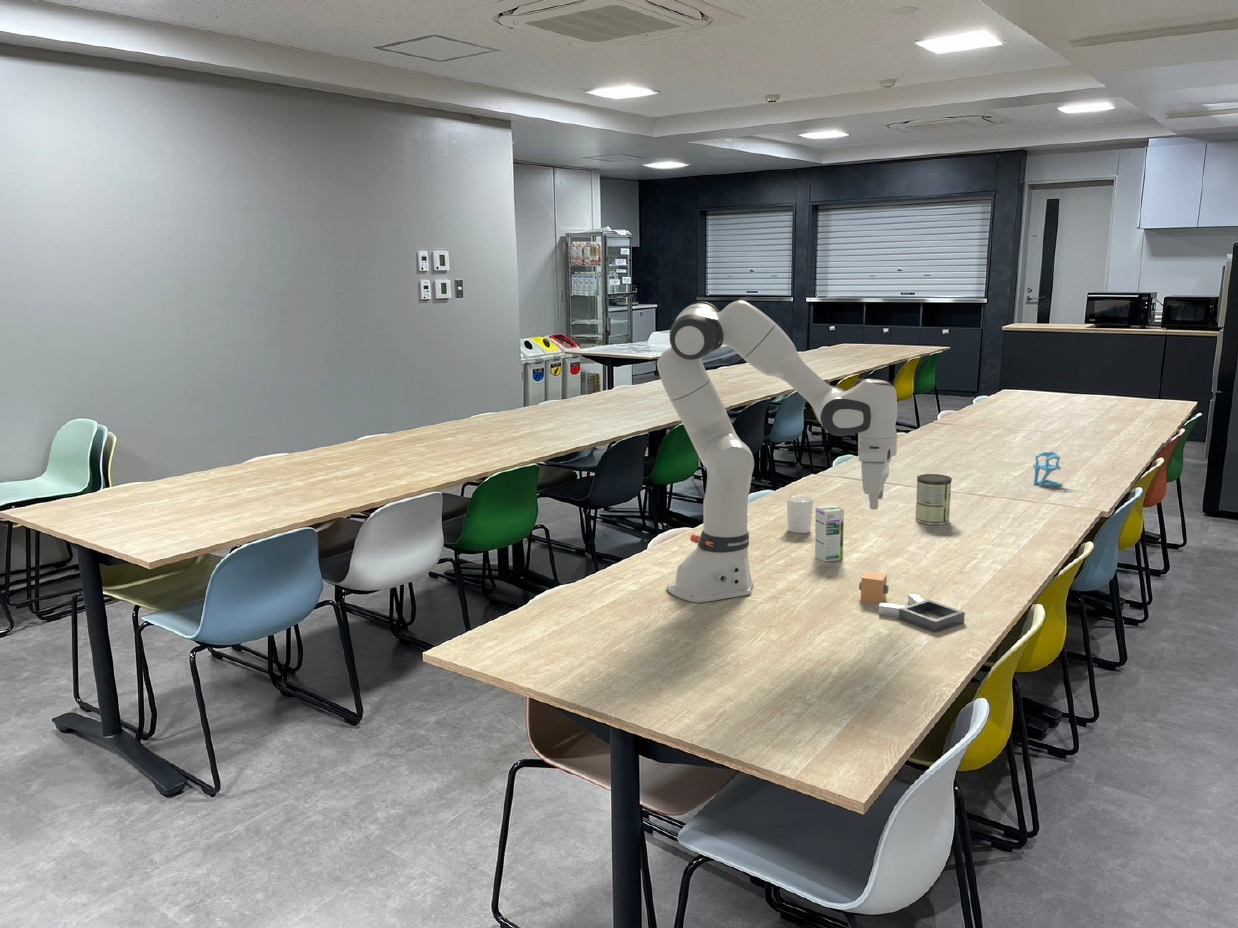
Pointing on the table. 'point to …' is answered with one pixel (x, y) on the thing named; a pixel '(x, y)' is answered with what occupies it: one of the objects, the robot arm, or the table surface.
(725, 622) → the table surface
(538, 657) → the table surface
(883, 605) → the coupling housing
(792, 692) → the table surface
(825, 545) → the syrup box
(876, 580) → the block
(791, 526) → the white cup
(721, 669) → the table surface
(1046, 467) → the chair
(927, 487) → the coffee can
